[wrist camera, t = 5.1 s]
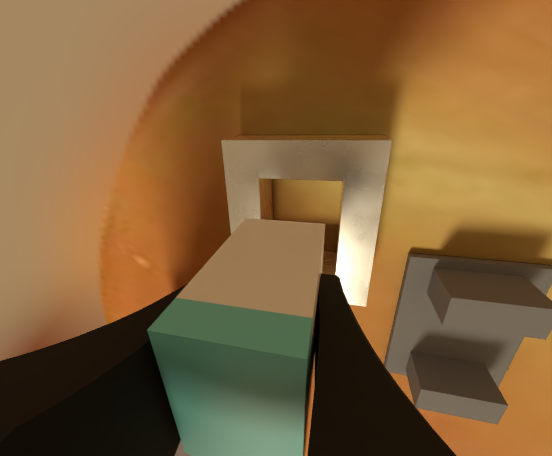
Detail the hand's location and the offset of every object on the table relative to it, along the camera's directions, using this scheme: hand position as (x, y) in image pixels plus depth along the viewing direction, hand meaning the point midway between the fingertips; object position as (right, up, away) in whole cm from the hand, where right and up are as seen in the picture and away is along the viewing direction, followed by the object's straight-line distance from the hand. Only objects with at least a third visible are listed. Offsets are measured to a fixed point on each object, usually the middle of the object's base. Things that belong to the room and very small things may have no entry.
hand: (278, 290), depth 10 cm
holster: (+13, -5, +9) cm, 16 cm away
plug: (0, +1, +1) cm, 1 cm away
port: (+2, +4, +8) cm, 9 cm away
